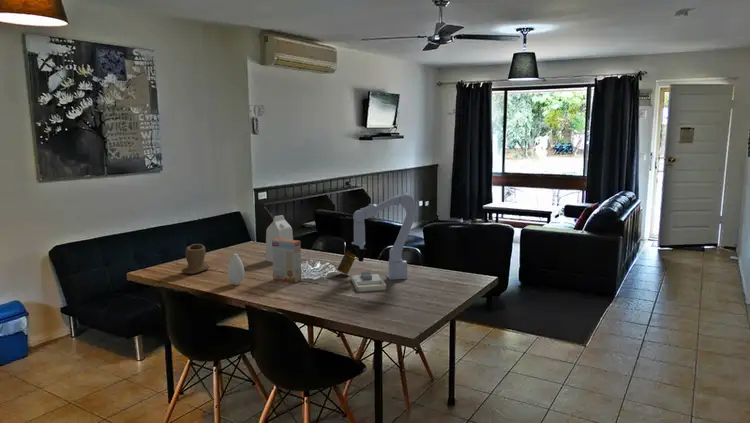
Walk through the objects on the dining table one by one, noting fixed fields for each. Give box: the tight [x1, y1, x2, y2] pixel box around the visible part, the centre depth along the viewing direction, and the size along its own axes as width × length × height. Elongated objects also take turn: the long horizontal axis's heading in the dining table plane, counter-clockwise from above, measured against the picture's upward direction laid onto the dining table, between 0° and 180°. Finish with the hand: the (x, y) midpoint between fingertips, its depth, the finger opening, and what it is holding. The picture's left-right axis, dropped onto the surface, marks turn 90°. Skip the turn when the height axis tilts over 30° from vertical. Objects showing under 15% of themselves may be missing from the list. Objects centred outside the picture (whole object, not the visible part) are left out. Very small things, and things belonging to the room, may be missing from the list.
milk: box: [265, 214, 294, 263], centre depth 313 cm, size 12×12×26 cm
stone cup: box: [181, 243, 211, 275], centre depth 289 cm, size 15×12×15 cm
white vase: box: [227, 251, 245, 286], centre depth 266 cm, size 8×8×18 cm
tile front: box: [363, 273, 372, 280], centre depth 269 cm, size 4×4×2 cm
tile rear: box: [360, 271, 371, 278], centre depth 274 cm, size 4×4×2 cm
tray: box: [353, 279, 387, 293], centre depth 261 cm, size 14×10×2 cm
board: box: [350, 273, 383, 285], centre depth 271 cm, size 14×11×2 cm
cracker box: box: [272, 238, 302, 284], centre depth 273 cm, size 14×6×21 cm, turn 61°
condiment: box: [335, 249, 356, 275], centre depth 283 cm, size 7×8×12 cm
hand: (359, 259), depth 278 cm, fingers open, 7 cm apart
